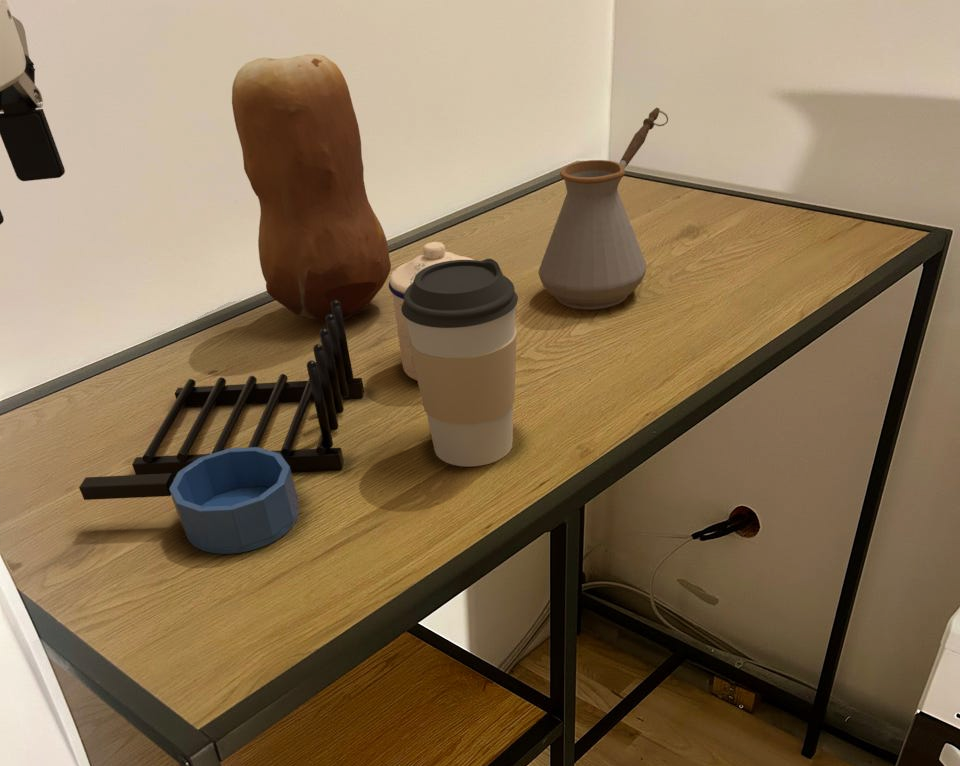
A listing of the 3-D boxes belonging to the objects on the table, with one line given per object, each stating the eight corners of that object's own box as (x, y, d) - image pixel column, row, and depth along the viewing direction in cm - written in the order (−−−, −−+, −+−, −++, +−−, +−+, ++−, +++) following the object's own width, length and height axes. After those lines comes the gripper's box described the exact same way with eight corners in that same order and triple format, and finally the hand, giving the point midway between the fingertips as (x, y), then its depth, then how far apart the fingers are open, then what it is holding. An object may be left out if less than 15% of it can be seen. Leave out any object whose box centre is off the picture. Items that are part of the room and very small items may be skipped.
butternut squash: (344, 281, 113) (301, 35, 96) (420, 306, 105) (388, 44, 89) (248, 321, 106) (184, 64, 89) (323, 351, 98) (268, 76, 82)
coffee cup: (442, 484, 78) (419, 304, 68) (406, 435, 84) (381, 264, 74) (543, 455, 80) (535, 276, 70) (500, 410, 86) (488, 240, 76)
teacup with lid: (407, 393, 90) (389, 269, 82) (395, 353, 97) (378, 235, 89) (530, 373, 91) (525, 249, 83) (510, 335, 98) (503, 217, 90)
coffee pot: (615, 324, 98) (617, 167, 88) (519, 307, 103) (512, 157, 93) (700, 253, 110) (710, 109, 101) (611, 241, 116) (613, 102, 106)
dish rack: (137, 479, 82) (99, 378, 76) (182, 401, 93) (152, 307, 86) (342, 469, 81) (321, 365, 74) (364, 391, 91) (347, 295, 85)
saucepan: (80, 559, 74) (60, 514, 71) (118, 495, 80) (101, 452, 78) (286, 552, 72) (274, 505, 69) (307, 487, 79) (297, 442, 76)
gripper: (-111, -145, 56) (13, 167, 67) (-305, -128, 43) (-112, 255, 54) (10, -162, 55) (114, 157, 66) (-152, -150, 42) (12, 243, 54)
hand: (12, 201), depth 60 cm, fingers open, 9 cm apart
